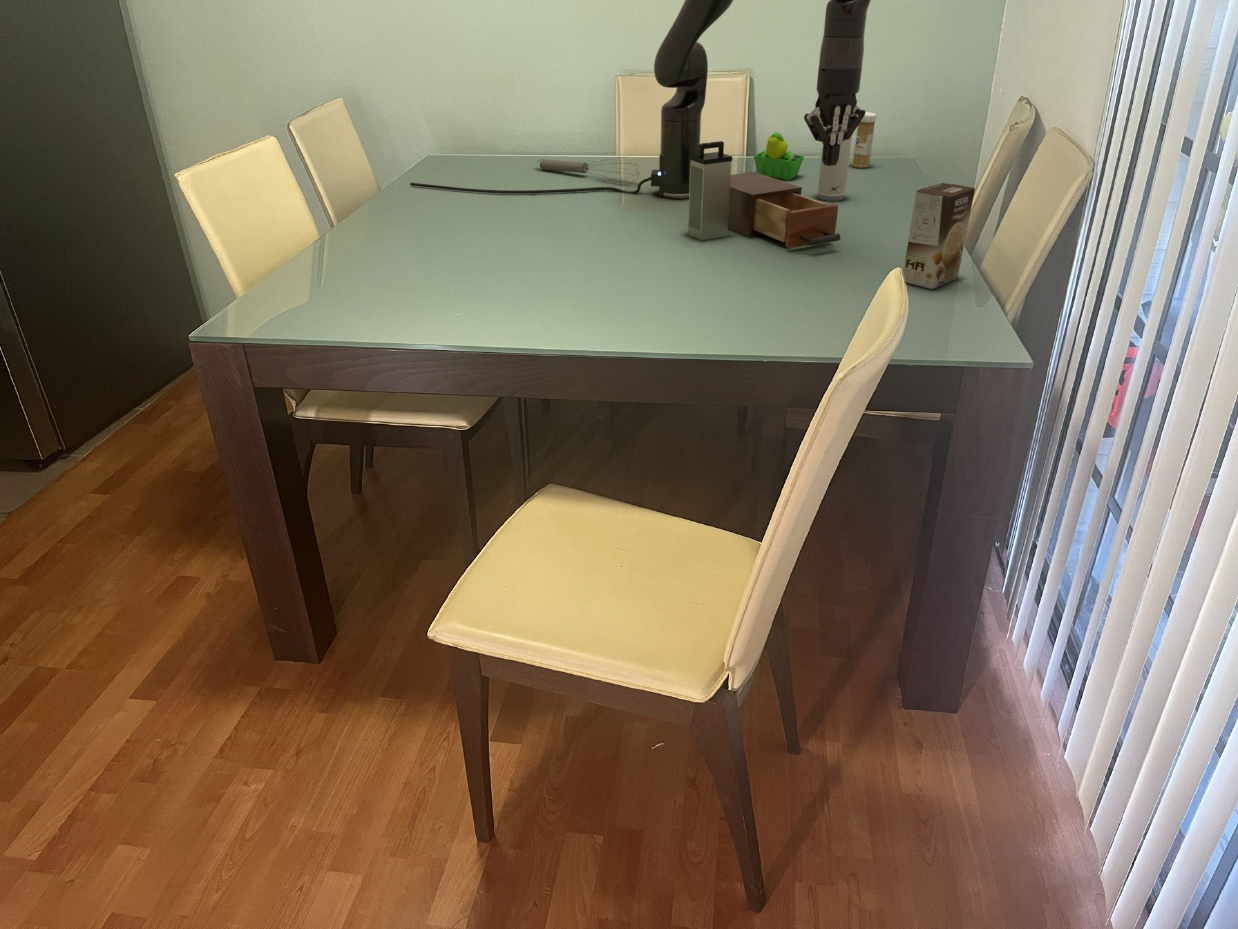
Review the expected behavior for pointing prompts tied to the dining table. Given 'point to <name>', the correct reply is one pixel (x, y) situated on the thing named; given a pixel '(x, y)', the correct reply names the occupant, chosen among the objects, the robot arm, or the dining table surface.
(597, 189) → the robot arm
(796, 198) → the drawer
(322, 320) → the dining table surface
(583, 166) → the kitchen whisk
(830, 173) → the travel mug
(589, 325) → the dining table surface
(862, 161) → the sprinkles bottle
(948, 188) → the coffee box
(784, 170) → the fruit basket
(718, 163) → the grater
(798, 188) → the cabinet
